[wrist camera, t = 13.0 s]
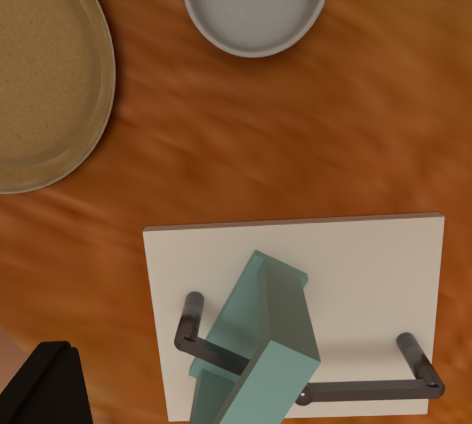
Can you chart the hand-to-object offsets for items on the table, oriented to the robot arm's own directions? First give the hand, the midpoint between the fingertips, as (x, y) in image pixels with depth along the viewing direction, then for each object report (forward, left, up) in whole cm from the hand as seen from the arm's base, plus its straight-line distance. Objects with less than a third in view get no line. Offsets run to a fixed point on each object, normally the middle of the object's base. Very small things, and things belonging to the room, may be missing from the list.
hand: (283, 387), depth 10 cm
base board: (-3, +20, -34) cm, 40 cm away
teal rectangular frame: (+2, +19, -33) cm, 38 cm away
